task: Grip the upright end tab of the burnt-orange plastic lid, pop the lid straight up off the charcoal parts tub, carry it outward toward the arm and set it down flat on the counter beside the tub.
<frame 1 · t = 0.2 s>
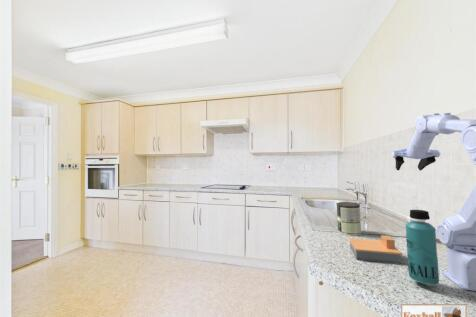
hand: (408, 168, 85), 31 cm above the countertop, tool tilted 45°, fingers open, 7 cm apart
tub lid: (372, 246, 75), point 3 cm above the countertop, touching parts tub
parts tub: (373, 255, 75), on the countertop
beverage bottle: (424, 285, 56), on the countertop
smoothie: (417, 239, 90), on the countertop
coffee can: (349, 232, 102), on the countertop
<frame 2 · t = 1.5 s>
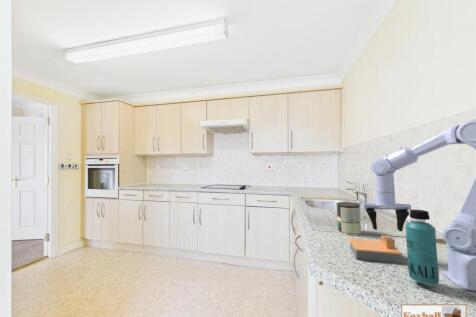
hand: (387, 229, 74), 9 cm above the countertop, tool pointing down, fingers open, 7 cm apart
nothing on the countertop moved.
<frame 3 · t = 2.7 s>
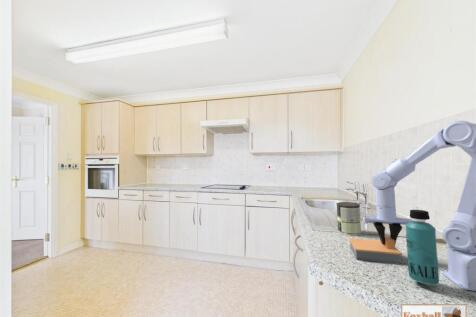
hand: (388, 244, 74), 4 cm above the countertop, tool pointing down, fingers closed on tub lid, 2 cm apart
tub lid: (372, 246, 75), point 3 cm above the countertop, touching gripper, parts tub
everything else where it was.
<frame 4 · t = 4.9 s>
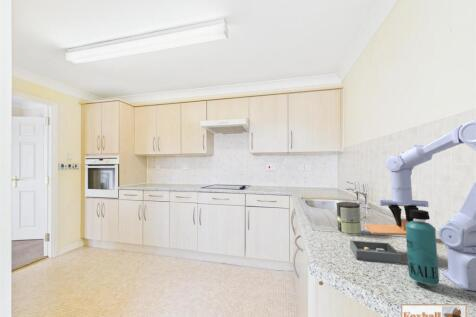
hand: (404, 226, 74), 10 cm above the countertop, tool pointing down, fingers closed on tub lid, 2 cm apart
tub lid: (388, 229, 76), point 9 cm above the countertop, touching gripper
everything else where it was.
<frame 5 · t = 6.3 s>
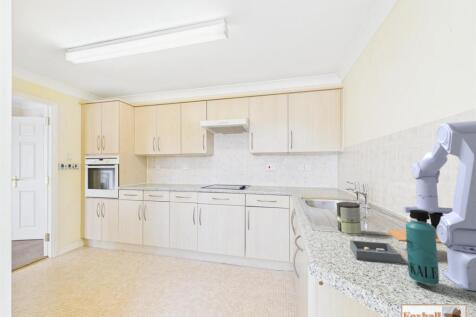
hand: (429, 233, 75), 7 cm above the countertop, tool pointing down, fingers closed on tub lid, 2 cm apart
tub lid: (414, 236, 76), point 6 cm above the countertop, touching gripper
everything else where it was.
when the fingers open (3 cm above the countertop, at t = 7.4 s): tub lid stays where it is, on the countertop.
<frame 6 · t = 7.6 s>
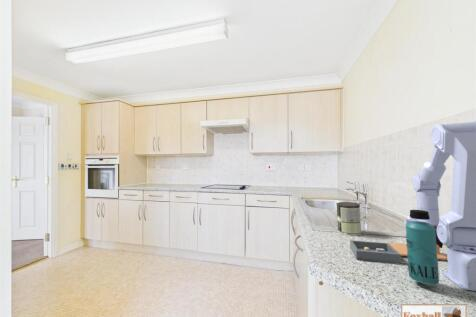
hand: (430, 246, 75), 3 cm above the countertop, tool pointing down, fingers open, 4 cm apart
tub lid: (415, 251, 76), on the countertop
everything else where it was.
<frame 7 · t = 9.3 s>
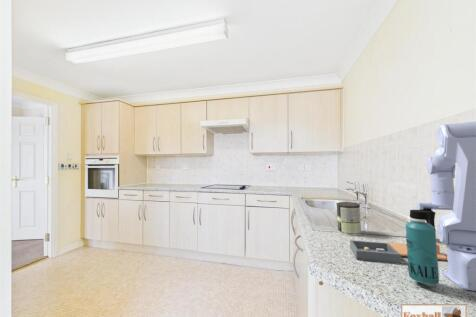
hand: (445, 230, 71), 9 cm above the countertop, tool pointing down, fingers open, 7 cm apart
nothing on the countertop moved.
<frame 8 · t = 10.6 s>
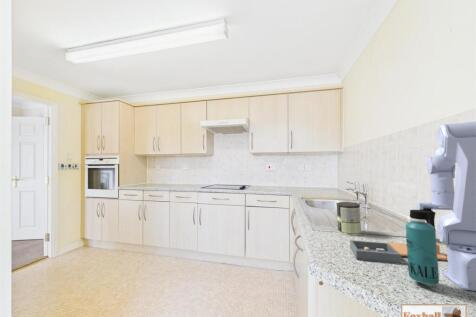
hand: (445, 230, 71), 9 cm above the countertop, tool pointing down, fingers open, 7 cm apart
nothing on the countertop moved.
at the end: tub lid inside the target area (0.2 cm from its centre), point 0.5 cm above the countertop; tub lid tilted 0°; the gripper is holding nothing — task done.
